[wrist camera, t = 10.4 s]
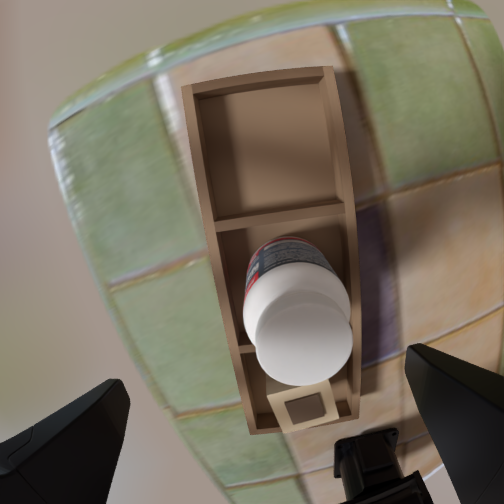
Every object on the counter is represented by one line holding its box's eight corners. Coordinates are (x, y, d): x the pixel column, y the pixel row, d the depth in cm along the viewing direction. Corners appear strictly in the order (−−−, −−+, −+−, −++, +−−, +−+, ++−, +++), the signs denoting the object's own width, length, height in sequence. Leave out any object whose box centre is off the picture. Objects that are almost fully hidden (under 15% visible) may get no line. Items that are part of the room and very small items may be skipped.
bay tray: (351, 399, 24) (358, 418, 22) (250, 414, 25) (250, 434, 22) (324, 77, 18) (332, 65, 16) (190, 95, 18) (181, 86, 16)
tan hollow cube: (329, 384, 23) (339, 420, 19) (280, 398, 23) (283, 435, 19) (318, 345, 22) (328, 379, 18) (265, 361, 22) (266, 397, 18)
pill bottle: (243, 238, 20) (232, 291, 12) (325, 232, 20) (372, 279, 11) (250, 314, 22) (245, 401, 13) (326, 308, 21) (362, 389, 13)
